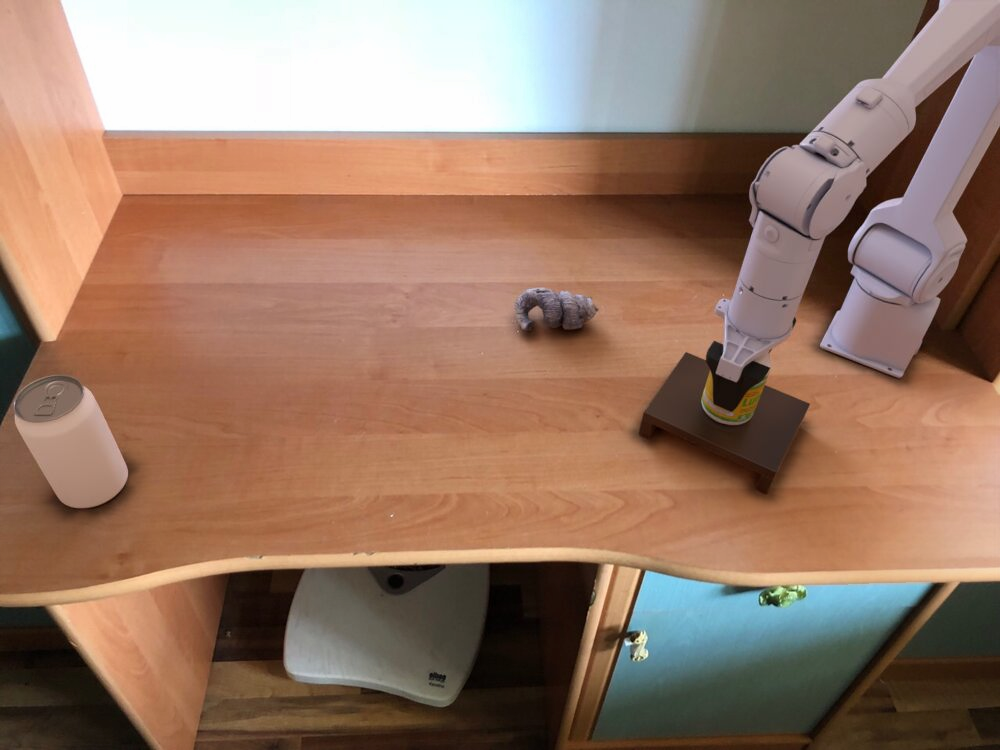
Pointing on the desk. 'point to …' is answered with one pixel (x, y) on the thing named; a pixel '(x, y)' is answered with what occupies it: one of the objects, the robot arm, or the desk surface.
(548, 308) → the seashell
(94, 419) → the can
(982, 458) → the desk surface
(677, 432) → the shelf
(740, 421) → the supplement bottle
